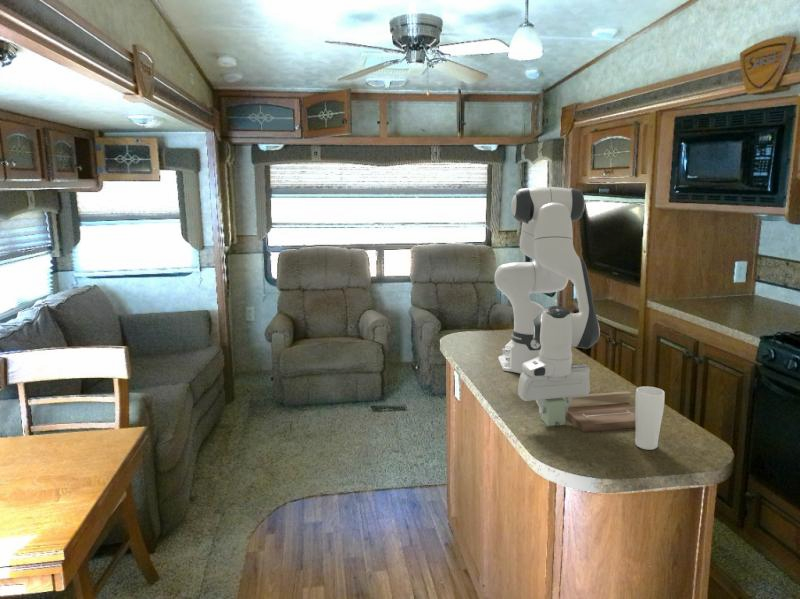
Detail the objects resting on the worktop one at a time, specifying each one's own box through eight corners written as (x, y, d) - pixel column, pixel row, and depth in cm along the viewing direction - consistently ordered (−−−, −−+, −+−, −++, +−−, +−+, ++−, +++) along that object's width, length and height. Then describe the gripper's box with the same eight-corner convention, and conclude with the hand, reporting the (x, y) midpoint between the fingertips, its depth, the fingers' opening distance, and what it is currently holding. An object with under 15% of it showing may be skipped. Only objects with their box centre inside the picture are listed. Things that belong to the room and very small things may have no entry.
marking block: (540, 419, 168) (541, 396, 167) (557, 417, 169) (558, 394, 167) (550, 428, 162) (551, 404, 160) (567, 426, 163) (568, 402, 161)
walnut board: (560, 412, 173) (560, 396, 172) (626, 407, 176) (627, 391, 175) (582, 432, 159) (583, 414, 158) (653, 425, 162) (654, 408, 161)
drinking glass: (627, 440, 153) (631, 386, 150) (652, 439, 154) (656, 385, 151) (639, 452, 147) (644, 396, 144) (665, 451, 147) (670, 394, 144)
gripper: (584, 359, 167) (582, 405, 170) (516, 364, 164) (515, 410, 167) (595, 366, 161) (592, 413, 164) (524, 371, 158) (523, 419, 161)
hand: (553, 412), depth 165 cm, fingers closed on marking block, 5 cm apart
